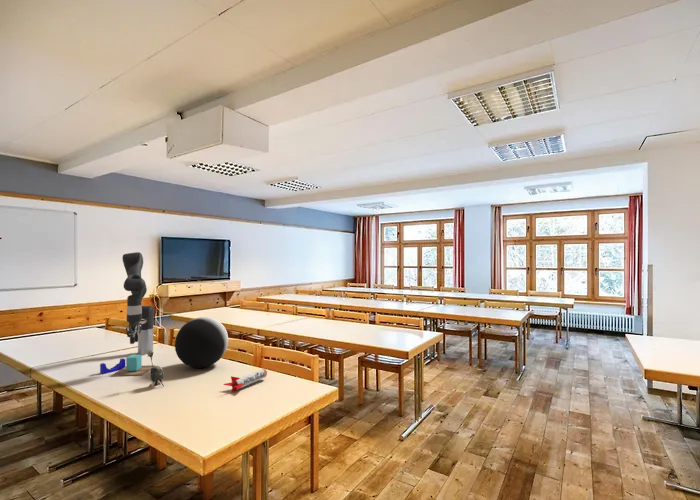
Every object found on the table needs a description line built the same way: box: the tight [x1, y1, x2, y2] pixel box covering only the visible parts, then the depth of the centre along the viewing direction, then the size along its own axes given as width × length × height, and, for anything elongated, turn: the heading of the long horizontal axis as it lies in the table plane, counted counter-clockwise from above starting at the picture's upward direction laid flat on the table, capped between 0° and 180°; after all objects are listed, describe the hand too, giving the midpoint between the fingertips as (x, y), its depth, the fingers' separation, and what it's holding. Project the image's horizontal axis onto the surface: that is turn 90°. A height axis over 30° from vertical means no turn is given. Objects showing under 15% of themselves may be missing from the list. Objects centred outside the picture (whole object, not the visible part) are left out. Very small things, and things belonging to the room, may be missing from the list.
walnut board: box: [110, 364, 156, 378], centre depth 200 cm, size 16×16×1 cm
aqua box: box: [125, 354, 143, 371], centre depth 200 cm, size 6×6×8 cm
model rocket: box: [223, 368, 268, 393], centre depth 177 cm, size 11×23×10 cm, turn 149°
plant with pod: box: [146, 350, 165, 387], centre depth 177 cm, size 8×11×20 cm
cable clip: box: [99, 357, 126, 375], centre depth 202 cm, size 12×4×6 cm, turn 149°
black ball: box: [174, 316, 229, 369], centre depth 211 cm, size 30×30×30 cm
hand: (134, 342), depth 200 cm, fingers open, 3 cm apart
